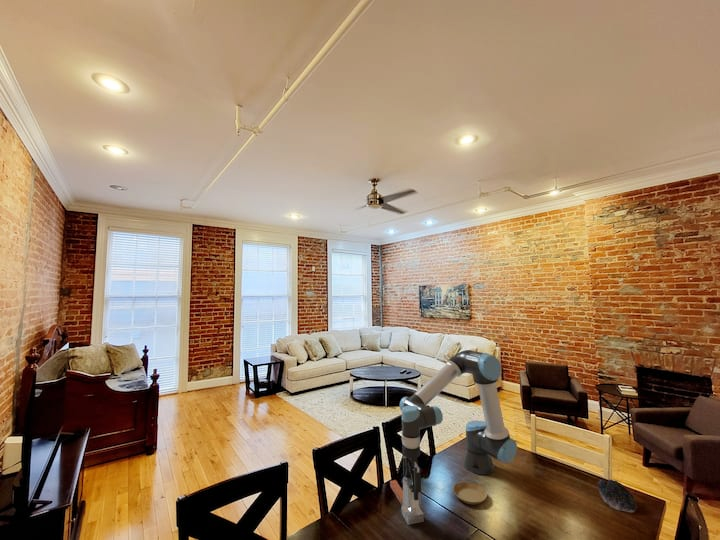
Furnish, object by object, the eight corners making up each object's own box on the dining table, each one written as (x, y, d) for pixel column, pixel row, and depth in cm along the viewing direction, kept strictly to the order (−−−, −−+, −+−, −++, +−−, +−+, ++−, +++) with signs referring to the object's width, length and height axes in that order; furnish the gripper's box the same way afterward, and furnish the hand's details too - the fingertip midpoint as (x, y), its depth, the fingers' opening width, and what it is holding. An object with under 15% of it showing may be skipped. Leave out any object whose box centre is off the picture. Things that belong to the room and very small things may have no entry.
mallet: (386, 486, 153) (386, 470, 154) (399, 484, 155) (399, 468, 155) (408, 524, 128) (407, 505, 129) (423, 521, 130) (423, 502, 130)
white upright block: (403, 499, 135) (402, 477, 135) (415, 497, 136) (414, 475, 137) (408, 508, 129) (408, 485, 130) (420, 505, 131) (420, 483, 131)
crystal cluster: (643, 508, 138) (640, 482, 140) (631, 517, 131) (628, 490, 132) (607, 494, 149) (604, 471, 151) (594, 502, 142) (592, 477, 143)
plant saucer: (470, 512, 135) (470, 506, 136) (446, 493, 148) (446, 487, 149) (494, 501, 142) (494, 495, 142) (469, 483, 155) (469, 478, 155)
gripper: (394, 436, 142) (395, 490, 141) (412, 457, 124) (413, 519, 123) (410, 434, 144) (410, 487, 143) (429, 454, 126) (430, 515, 125)
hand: (412, 501), depth 133 cm, fingers closed on white upright block, 6 cm apart
